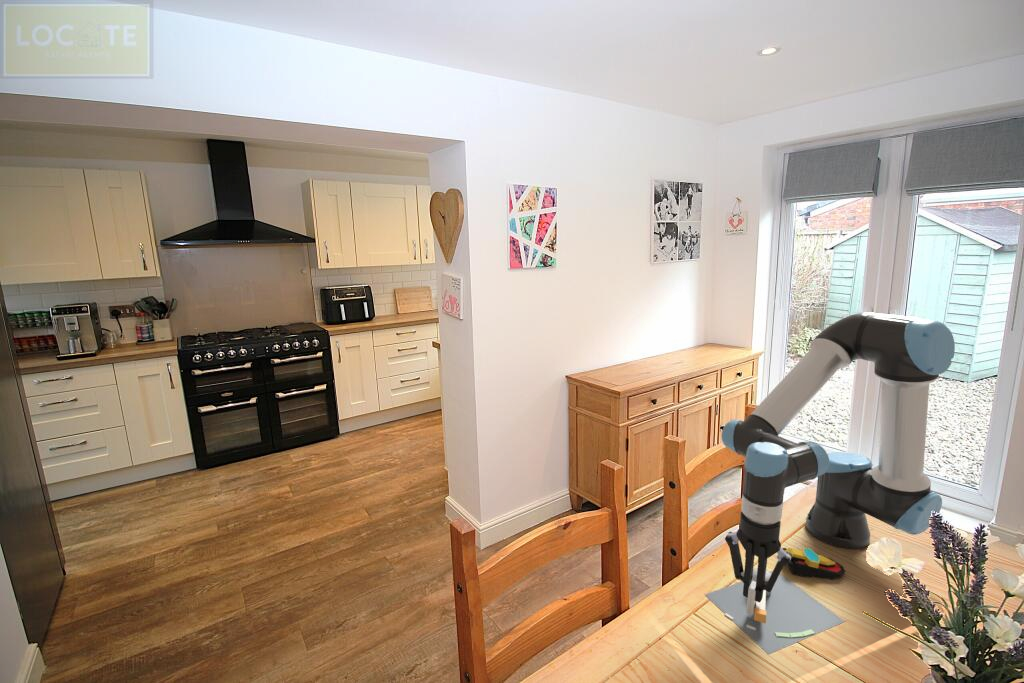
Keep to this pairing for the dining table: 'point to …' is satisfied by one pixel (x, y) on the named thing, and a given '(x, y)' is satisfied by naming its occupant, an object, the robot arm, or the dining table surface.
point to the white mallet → (760, 607)
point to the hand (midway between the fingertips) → (751, 610)
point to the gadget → (813, 564)
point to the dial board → (776, 614)
